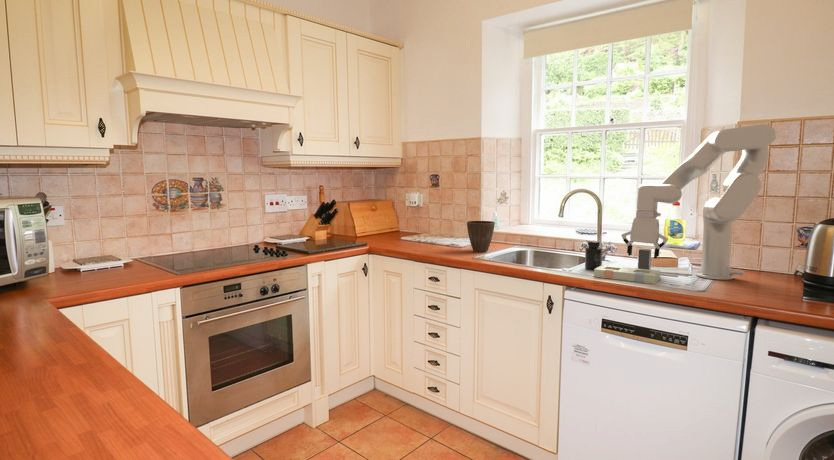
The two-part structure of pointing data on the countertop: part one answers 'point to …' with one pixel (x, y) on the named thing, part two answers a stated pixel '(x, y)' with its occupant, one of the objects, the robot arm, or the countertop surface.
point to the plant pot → (480, 234)
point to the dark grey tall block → (644, 258)
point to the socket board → (627, 273)
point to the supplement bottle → (593, 255)
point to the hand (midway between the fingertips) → (642, 256)
